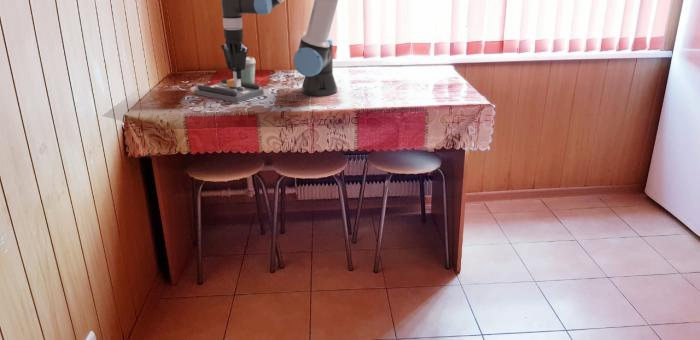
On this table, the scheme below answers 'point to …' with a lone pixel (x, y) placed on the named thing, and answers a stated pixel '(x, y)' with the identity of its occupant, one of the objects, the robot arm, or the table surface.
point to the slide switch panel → (242, 92)
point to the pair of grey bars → (227, 92)
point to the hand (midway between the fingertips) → (237, 86)
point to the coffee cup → (248, 71)
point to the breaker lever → (231, 84)
